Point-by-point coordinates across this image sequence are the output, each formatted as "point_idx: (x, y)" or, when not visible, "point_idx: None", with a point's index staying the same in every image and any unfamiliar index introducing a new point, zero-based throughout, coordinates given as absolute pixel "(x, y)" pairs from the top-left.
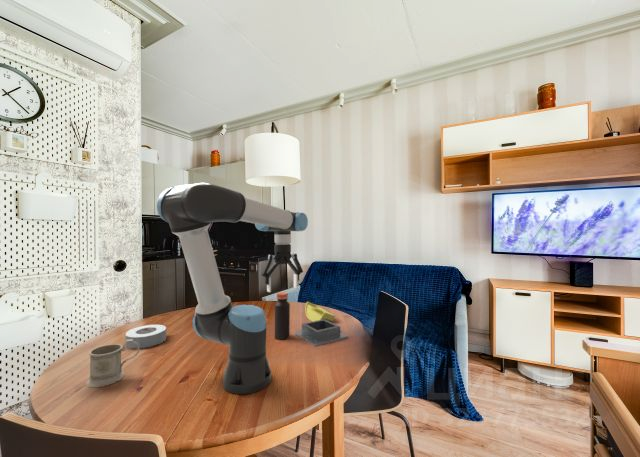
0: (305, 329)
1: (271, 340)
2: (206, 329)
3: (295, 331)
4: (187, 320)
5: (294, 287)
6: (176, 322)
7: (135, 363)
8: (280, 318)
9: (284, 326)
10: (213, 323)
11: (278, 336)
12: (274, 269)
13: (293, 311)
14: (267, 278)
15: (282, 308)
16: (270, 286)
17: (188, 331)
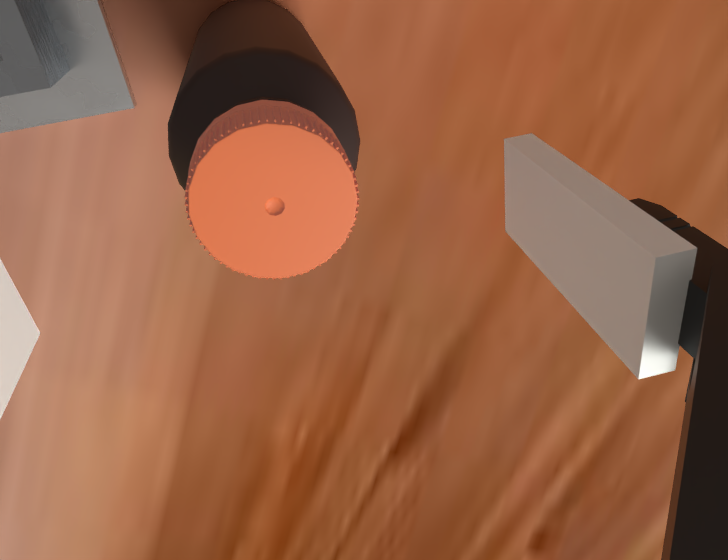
0: (28, 2)
1: (349, 27)
2: None
3: (124, 109)
4: (669, 490)
5: (23, 311)
6: None
7: None
8: (298, 34)
9: (251, 11)
10: None
11: (297, 21)
12: (687, 440)
13: (64, 529)
14: (710, 260)
15: (285, 45)
16: (558, 170)
17: None
